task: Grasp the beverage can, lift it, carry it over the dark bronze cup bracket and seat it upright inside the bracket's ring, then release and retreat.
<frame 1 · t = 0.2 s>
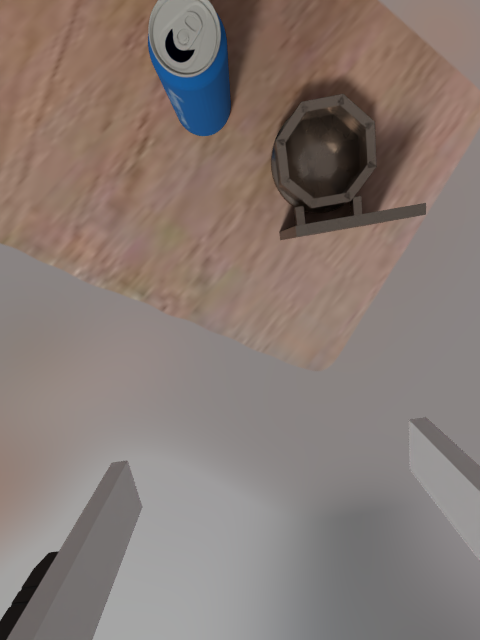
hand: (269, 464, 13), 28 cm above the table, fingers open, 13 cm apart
beverage can: (204, 108, 34), on the table
cup bracket: (319, 161, 35), on the table
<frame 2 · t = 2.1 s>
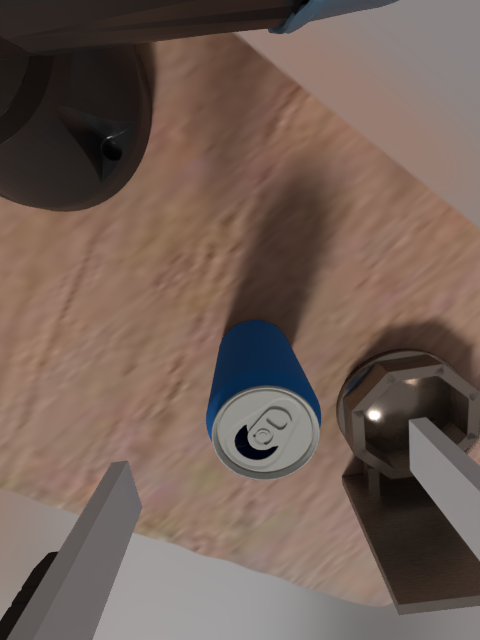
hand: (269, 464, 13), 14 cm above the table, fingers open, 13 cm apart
beverage can: (254, 350, 26), on the table
cup bracket: (397, 406, 28), on the table
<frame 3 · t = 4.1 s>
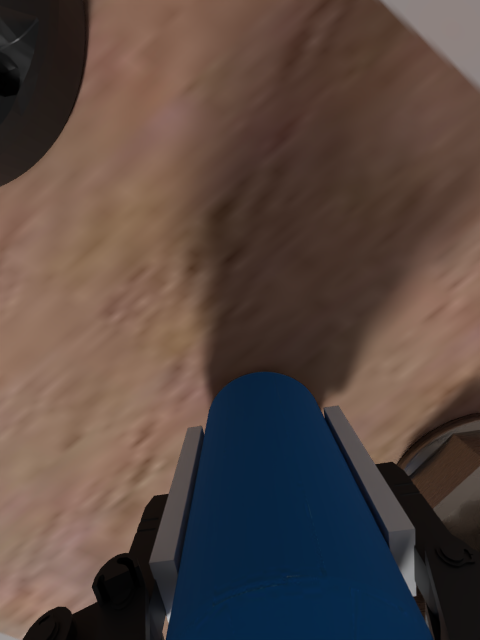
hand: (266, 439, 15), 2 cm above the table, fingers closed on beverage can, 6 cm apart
beverage can: (262, 413, 17), on the table, touching gripper
cup bracket: (477, 492, 18), on the table
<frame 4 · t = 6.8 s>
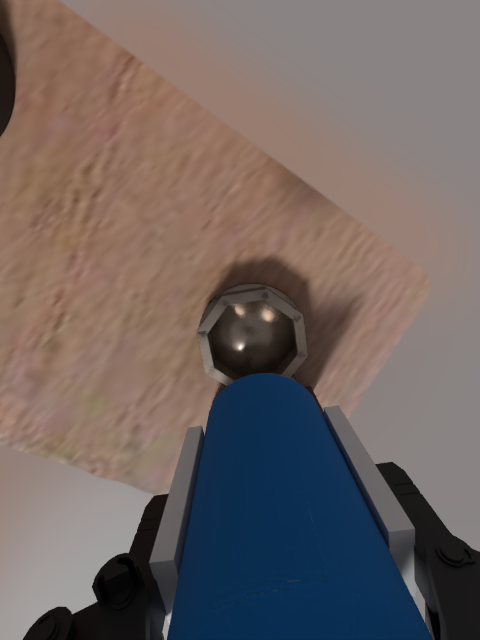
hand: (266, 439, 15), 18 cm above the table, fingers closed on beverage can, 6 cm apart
beverage can: (262, 415, 17), point 16 cm above the table, touching gripper
cup bracket: (251, 335, 32), on the table
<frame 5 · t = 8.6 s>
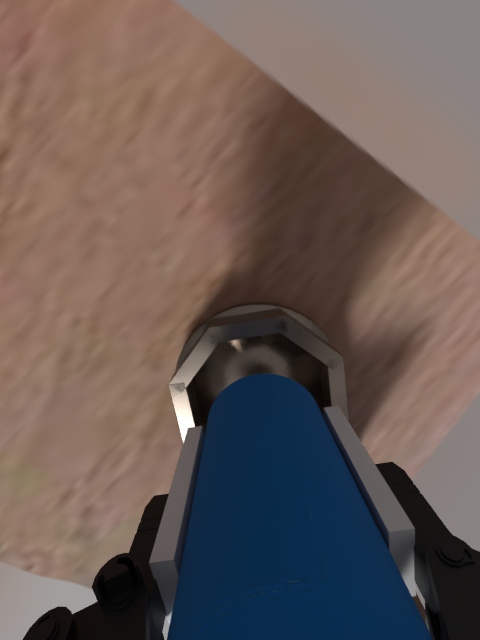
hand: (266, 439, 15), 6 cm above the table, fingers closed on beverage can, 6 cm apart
beverage can: (262, 415, 17), point 4 cm above the table, touching gripper
cup bracket: (257, 381, 21), on the table
when the fingers open (5 cm above the table, at t = 9.8 s): beverage can drops 2 cm, resting on cup bracket.
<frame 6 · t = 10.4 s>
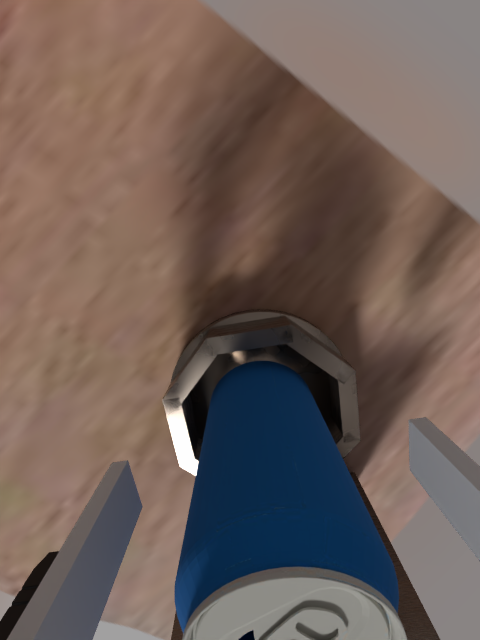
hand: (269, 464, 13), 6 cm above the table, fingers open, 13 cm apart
beverage can: (260, 399, 19), point 1 cm above the table, touching cup bracket
cup bracket: (259, 394, 19), on the table
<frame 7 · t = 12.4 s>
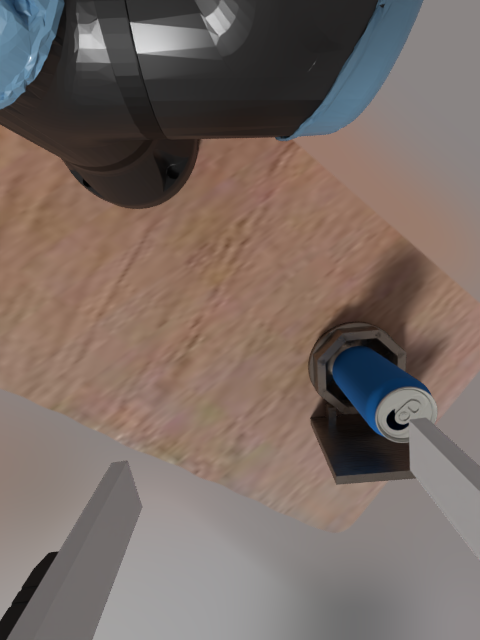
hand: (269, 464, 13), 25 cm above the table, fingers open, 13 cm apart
beverage can: (353, 366, 38), point 1 cm above the table, touching cup bracket
cup bracket: (352, 364, 38), on the table
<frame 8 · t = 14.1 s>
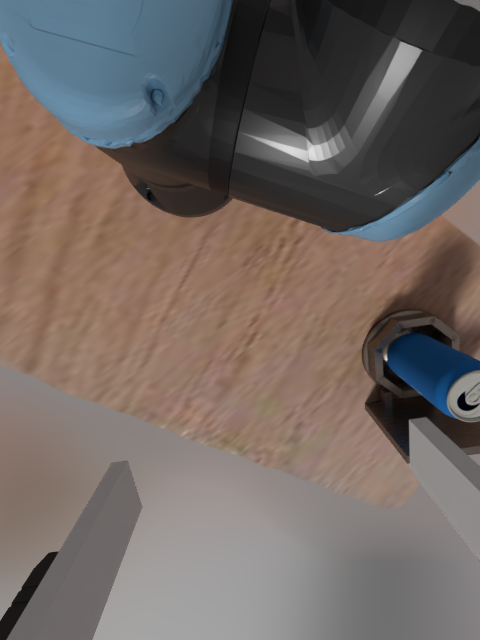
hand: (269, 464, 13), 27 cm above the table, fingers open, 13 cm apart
beverage can: (406, 352, 40), point 1 cm above the table, touching cup bracket
cup bracket: (404, 350, 40), on the table
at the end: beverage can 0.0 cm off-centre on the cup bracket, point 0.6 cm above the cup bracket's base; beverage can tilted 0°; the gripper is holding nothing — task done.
